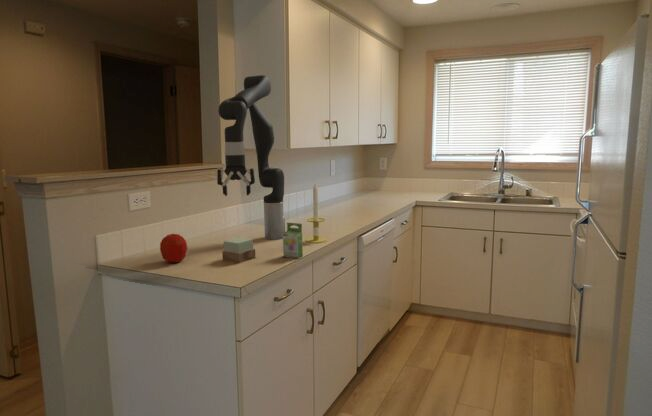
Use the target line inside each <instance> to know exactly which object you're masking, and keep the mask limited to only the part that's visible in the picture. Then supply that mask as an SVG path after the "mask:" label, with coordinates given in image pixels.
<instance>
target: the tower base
mask: <svg viewBox="0 0 652 416" xmlns="http://www.w3.org/2000/svg"><path fill="white" fill-rule="evenodd" d="M221 255H222V261H226V262H231V263H237V264H242V263H244V262H247V261H251V260H254V259H256V248H253V250H249V251H246V252H243V253H239V254H238V253H232V252H227V251H224V250H222V254H221Z"/></svg>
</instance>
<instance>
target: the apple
mask: <svg viewBox="0 0 652 416" xmlns="http://www.w3.org/2000/svg"><path fill="white" fill-rule="evenodd" d="M159 245H160V246H159V251H160V253H161V256H162V259H163V260H164V261H166V262H168V263H170V264H172V263H180V262H182V261H183V260H184V259H185V258H186V256H187V252H188V244H187V240H186V239H185V237H183V236H182V235H180V234H177V233H171V234H167V235H166V236H164V237H163V238H162V239H161V241H160V244H159Z"/></svg>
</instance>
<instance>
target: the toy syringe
mask: <svg viewBox="0 0 652 416" xmlns="http://www.w3.org/2000/svg"><path fill="white" fill-rule="evenodd" d="M318 190H319V189H318V187H317V183H314V186H313V187H312V197H313V198H312V201H313V202H312V203H313V204H312V205H313V207H312V209H313V217H312V218H311V217H310V218H307V219H306V222H309V223H312V225H313V226H312V227H313V228H312V229H313V231H312V232H313V237H309V238H306V239H305V242H306V243H309V244H320V243H321V244H322V243H326V242H327V241H328V240H327V238H325V237H320V229H319V228H320V226H319V223H322V222H325V221H326V219H325V218H322V217H321V218H320V217H319V198H318V197H319V191H318Z"/></svg>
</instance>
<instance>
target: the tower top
mask: <svg viewBox="0 0 652 416" xmlns="http://www.w3.org/2000/svg"><path fill="white" fill-rule="evenodd" d="M253 249H254V239H251V238H245V237H234V238H229V239H226V240H223V251H227V252H232V253H238V254H239V253H243V252H246V251H249V250H253Z"/></svg>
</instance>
